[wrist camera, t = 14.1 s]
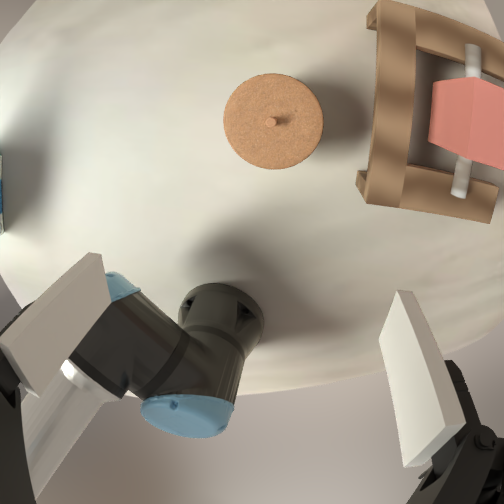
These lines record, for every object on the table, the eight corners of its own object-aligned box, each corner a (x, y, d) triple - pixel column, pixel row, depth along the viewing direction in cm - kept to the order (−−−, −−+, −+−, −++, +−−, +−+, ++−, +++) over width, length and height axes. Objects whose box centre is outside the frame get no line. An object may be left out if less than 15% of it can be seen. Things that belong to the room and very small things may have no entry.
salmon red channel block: (466, 151, 30) (511, 173, 20) (427, 141, 31) (466, 158, 21) (472, 94, 26) (521, 96, 16) (433, 81, 28) (474, 76, 17)
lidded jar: (328, 147, 37) (336, 160, 29) (251, 166, 40) (236, 184, 32) (306, 70, 33) (307, 60, 25) (227, 92, 36) (205, 90, 28)
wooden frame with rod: (464, 203, 36) (497, 230, 28) (355, 184, 39) (370, 209, 30) (481, 51, 25) (519, 45, 16) (366, 16, 27) (384, -8, 19)
